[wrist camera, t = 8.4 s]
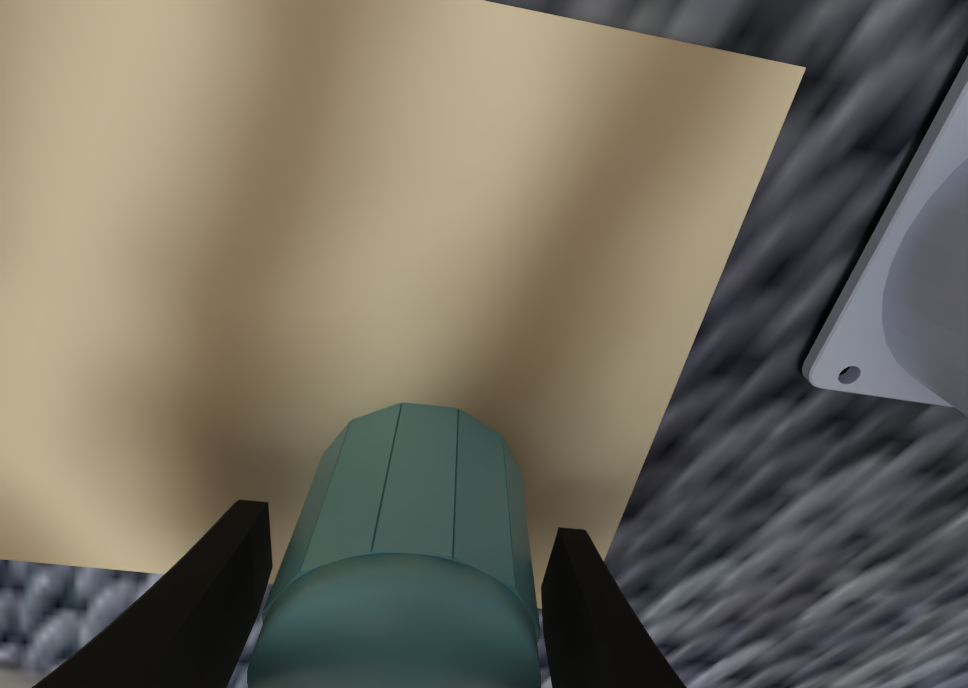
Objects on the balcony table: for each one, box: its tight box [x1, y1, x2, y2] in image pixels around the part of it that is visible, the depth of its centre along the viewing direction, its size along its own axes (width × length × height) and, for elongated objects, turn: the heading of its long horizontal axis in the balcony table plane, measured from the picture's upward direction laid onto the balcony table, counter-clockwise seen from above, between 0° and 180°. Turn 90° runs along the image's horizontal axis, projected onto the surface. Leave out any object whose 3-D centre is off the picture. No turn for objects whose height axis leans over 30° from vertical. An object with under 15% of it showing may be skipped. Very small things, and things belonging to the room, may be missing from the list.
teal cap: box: [247, 402, 541, 688], centre depth 11 cm, size 5×5×5 cm
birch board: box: [0, 0, 806, 609], centre depth 12 cm, size 19×15×1 cm
